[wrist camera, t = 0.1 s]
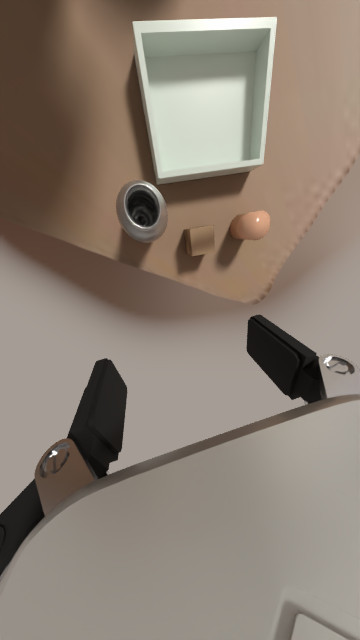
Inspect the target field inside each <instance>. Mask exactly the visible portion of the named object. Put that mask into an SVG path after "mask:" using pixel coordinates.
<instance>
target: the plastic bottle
mask: <svg viewBox="0 0 360 640" xmlns="http://www.w3.org/2000/svg"><path fill="white" fill-rule="evenodd" d="M116 212H117V216H118V220H119V222H120V224H121V226H122V228H123V229H124V231H125V232H126V233H127V234H128V235H129V236H130V237H132V238H133V239H135V240H137V241H139V242H144V243H148V242H153V241H155V240H157V239H158V238H160V237H161V236H162V234H163V233H164V231H165V229H166V226H167V222H168V211H167V206H166V203H165V201H164V198H163V196H162V195H161V193H160V192H159V191H158V190H157V189H156V188H155V187H154V186H153V185H152V184H150V183H148V182H146V181H142V180H133V181H130V182H128V183H126V184H125V185H124V186H123V187H122V188H121V190H120V191H119V193H118V196H117V200H116Z"/></svg>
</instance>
